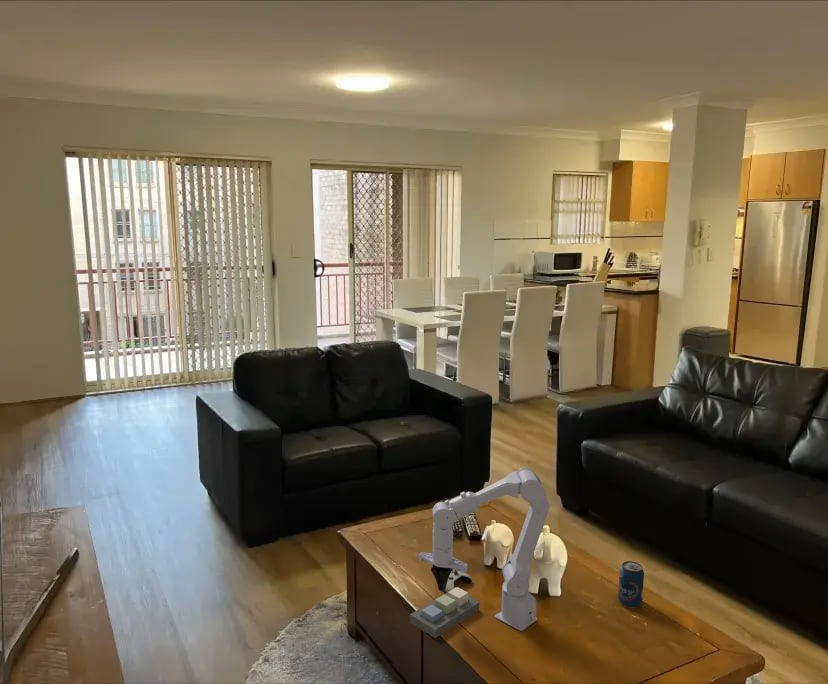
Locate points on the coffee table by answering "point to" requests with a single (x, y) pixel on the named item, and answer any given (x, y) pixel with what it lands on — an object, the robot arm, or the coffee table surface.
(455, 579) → the gaming controller
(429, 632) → the key panel
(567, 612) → the coffee table surface
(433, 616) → the slate key
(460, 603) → the ivory key
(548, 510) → the robot arm
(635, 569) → the soda can
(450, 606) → the sage key
